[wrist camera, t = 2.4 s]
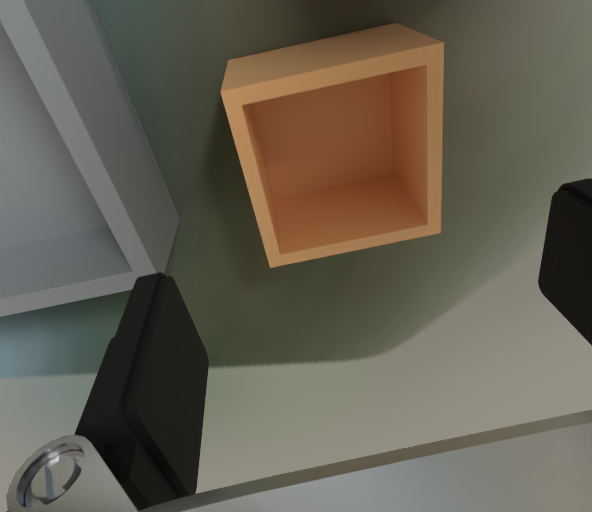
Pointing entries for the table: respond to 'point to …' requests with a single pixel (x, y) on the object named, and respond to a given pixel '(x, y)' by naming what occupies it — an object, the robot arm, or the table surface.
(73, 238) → the grey square tray
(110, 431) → the robot arm
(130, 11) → the table surface
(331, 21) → the table surface
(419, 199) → the orange crate
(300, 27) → the table surface
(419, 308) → the table surface
